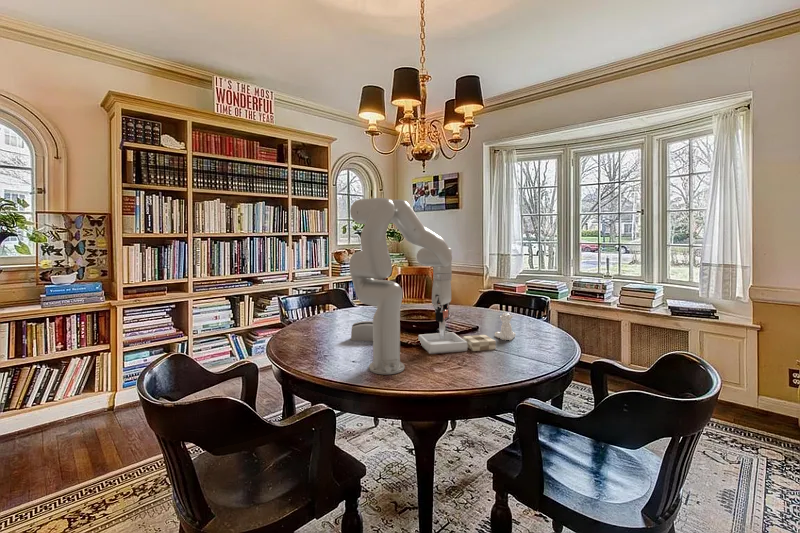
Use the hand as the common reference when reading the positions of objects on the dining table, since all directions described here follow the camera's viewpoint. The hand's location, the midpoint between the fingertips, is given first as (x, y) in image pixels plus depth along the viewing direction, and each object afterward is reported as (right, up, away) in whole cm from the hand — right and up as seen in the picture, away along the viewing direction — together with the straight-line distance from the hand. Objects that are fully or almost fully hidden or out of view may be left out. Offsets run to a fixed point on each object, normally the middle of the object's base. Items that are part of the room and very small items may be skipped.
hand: (442, 319), depth 166 cm
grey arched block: (-31, -11, +12) cm, 35 cm away
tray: (0, -12, +1) cm, 12 cm away
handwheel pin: (0, -8, +1) cm, 8 cm away
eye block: (+15, -11, +1) cm, 19 cm away
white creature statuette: (+30, -11, +12) cm, 34 cm away
